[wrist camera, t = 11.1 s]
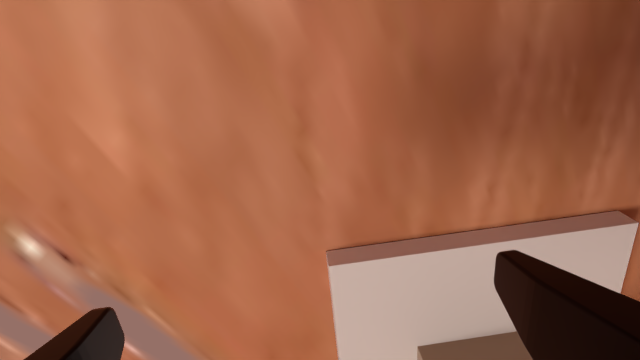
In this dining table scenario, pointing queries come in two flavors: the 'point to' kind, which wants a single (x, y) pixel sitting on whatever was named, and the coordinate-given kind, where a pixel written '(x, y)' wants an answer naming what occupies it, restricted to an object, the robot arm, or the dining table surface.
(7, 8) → the dining table surface
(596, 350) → the robot arm
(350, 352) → the build board
